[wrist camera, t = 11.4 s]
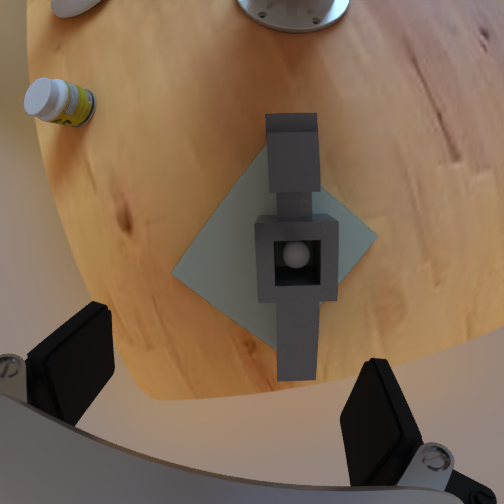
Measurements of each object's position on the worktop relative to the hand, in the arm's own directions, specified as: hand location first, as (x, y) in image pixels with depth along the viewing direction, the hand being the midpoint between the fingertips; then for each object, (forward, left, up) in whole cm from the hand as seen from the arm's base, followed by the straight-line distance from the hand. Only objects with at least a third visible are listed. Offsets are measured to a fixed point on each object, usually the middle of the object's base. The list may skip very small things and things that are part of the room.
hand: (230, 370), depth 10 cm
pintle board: (-2, +1, -21) cm, 21 cm away
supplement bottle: (0, -27, -22) cm, 34 cm away
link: (-1, +4, -20) cm, 20 cm away
